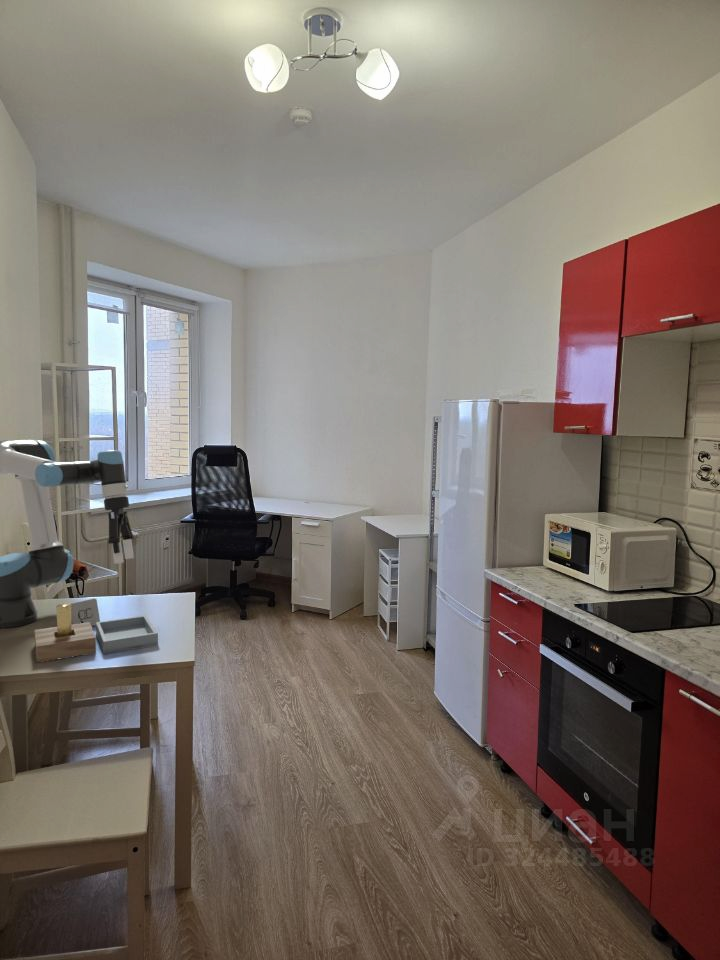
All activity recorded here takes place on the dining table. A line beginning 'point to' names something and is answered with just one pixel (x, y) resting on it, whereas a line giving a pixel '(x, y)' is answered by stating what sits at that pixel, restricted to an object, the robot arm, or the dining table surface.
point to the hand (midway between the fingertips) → (124, 560)
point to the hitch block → (64, 642)
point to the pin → (64, 620)
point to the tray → (126, 634)
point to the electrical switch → (85, 612)
